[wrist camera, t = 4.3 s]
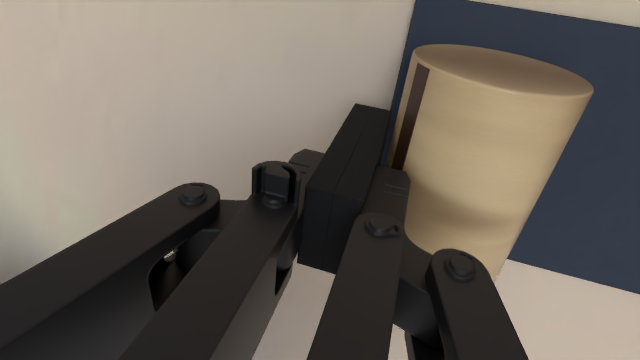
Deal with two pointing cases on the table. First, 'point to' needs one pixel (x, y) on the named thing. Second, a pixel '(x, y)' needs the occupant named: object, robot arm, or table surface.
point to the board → (584, 144)
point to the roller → (480, 144)
